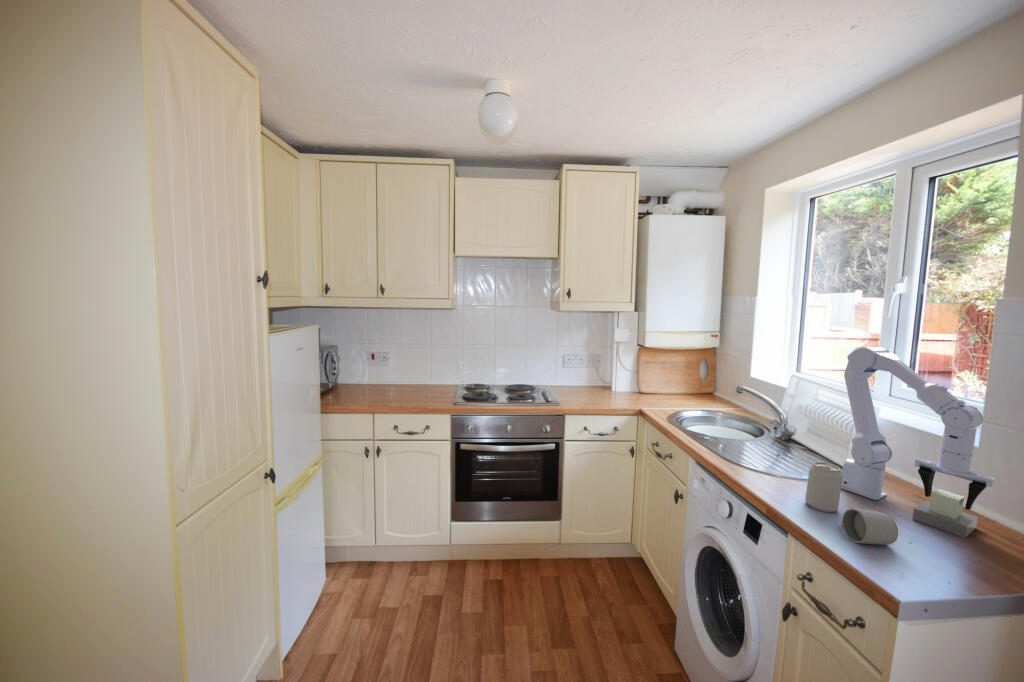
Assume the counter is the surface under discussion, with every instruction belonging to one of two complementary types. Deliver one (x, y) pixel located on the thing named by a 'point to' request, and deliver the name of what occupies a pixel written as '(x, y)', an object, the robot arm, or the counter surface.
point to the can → (824, 486)
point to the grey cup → (869, 527)
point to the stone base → (945, 520)
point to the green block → (946, 503)
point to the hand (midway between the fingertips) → (947, 502)
